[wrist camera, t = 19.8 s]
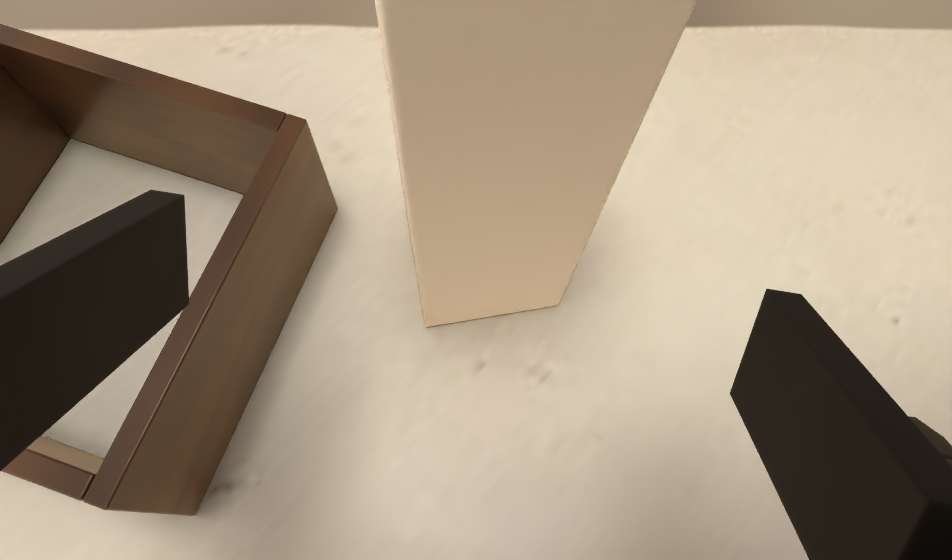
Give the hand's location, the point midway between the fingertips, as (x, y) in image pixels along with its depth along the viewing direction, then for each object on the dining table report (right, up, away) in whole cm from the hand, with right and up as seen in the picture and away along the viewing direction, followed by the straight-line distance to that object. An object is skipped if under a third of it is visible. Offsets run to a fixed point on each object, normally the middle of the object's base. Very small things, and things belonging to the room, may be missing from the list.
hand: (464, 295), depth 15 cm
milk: (0, +1, +15) cm, 15 cm away
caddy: (-15, 0, +13) cm, 20 cm away
